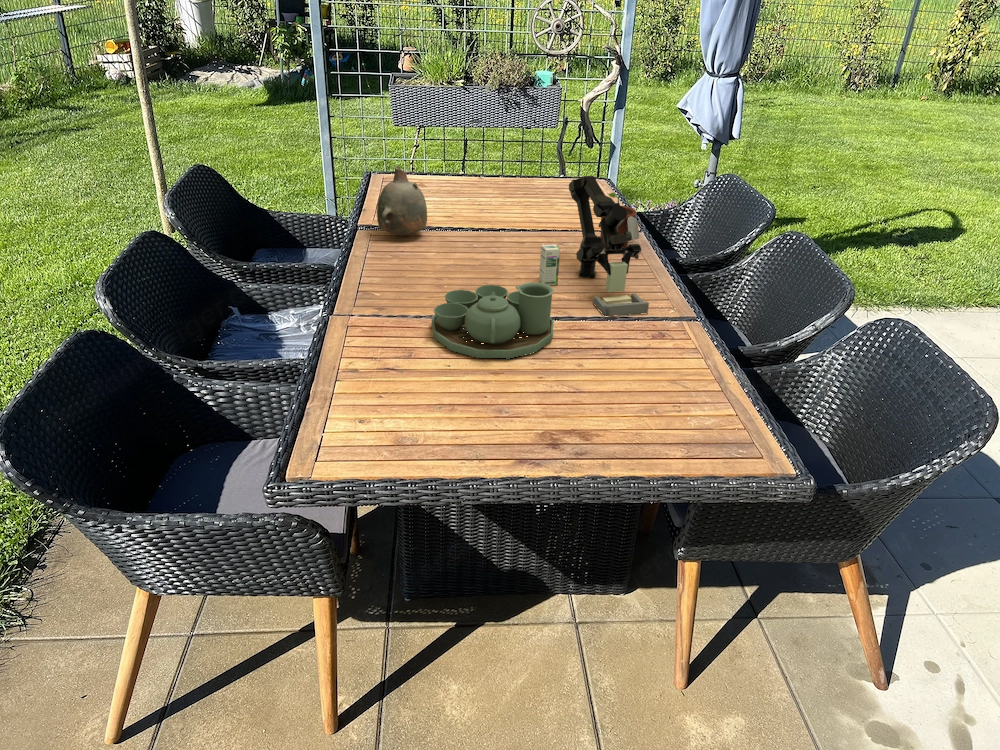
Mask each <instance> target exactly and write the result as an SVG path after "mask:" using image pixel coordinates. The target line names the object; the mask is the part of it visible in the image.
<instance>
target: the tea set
mask: <svg viewBox="0 0 1000 750" xmlns="http://www.w3.org/2000/svg"><path fill="white" fill-rule="evenodd" d="M515 289H517V290H516V291H513V292H510V293H509V290H508V289H507V288H506V287H504V286H502V285H494V284H487V285H486V284H485V285H481V286H478V287H477V288H476V289H475V292H474V291H471V290H466V289H454V290H451V291H448V292H447V293H446V294H445V295H444V299H445V301H446V302H444V303H441V304H437V306H436V307H435V308H433V311H434V312H433V313H434V315H433V316H432V317H431V328H432V335H433V338H434V340H435V339H436V341H437V342H438V341H439V342H440V344H441V343H442V344H443V345H442V344H441V345H442V346H443V347H445V346H446V347H447V348H446V347H445V348H446V349H447V350H449V349H450V350H451V351H450V350H449V351H450V352H452V351H454V352H453V353H456V352H458V353H457V354H459V353H462V354H461V355H463V354H465V355H464V356H467V355H469V356H468V357H470V356H473V357H472V358H474V357H477V358H476V359H478V358H506V359H505V360H511V359H510V358H513V359H515V358H514V357H517V358H519V357H518V356H521V357H523V356H522V355H525V354H529V355H531V354H530V353H533V352H536V353H537V351H538V350H539V349H540V350H542V349H543V348H544V347H546V346H547V345H548V344H549V342H550V341H552V340H553V337H554V336H553V335H554V334H553V333H554V322H555V321H554V319H552V318H551V314H552V313H551V311H552V299H553V294H554V292H555V290H554V288H553V287H552V285H547V284H542V283H541V282H525V283H522V284H520V285H515ZM463 328H464V329H463ZM467 332H468V333H467ZM523 332H524V333H523ZM517 333H519V334H517ZM526 336H528V337H526ZM463 337H464V338H463ZM519 337H522V338H519ZM513 338H515V339H513ZM471 340H473V341H471ZM466 341H467V342H466ZM439 342H438V343H439ZM481 343H484V344H481ZM547 343H548V344H547ZM550 343H551V342H550ZM546 344H547V345H546ZM545 345H546V346H545ZM543 346H544V347H543ZM542 347H543V348H542ZM541 348H542V349H541ZM540 350H539V351H540ZM539 351H538V352H539ZM533 354H534V353H533ZM525 356H526V355H525Z"/></svg>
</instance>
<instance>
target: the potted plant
mask: <svg viewBox="0 0 1000 750" xmlns="http://www.w3.org/2000/svg"><path fill="white" fill-rule="evenodd" d="M630 191H631V189H627V188H624V189H623V190H622V191H621V193H620V194H619V195H618V196H617V195H616V193H615V192H611V193H608V194H607V195H608V197H610V198H617V203H620V197H621V196H622V195H626V194H628V193H629V192H630ZM621 206H622V207H623V208H624V209H625V210H626V211H627V217H626V218H625V219H624V221H623V222H622V223H621V224H620V225H619V226H618V227H617V229H618V232H620V233H621V234H624V232H631V235H632V240H631V241H632V244H637V243H636V242H635V240H639V239H640V229H639V224H638V222H637V219H636V215H637V210H635V209H634V208H632V207H631V206H630V207H629V206H625V205H621ZM599 218H600V221H601V220H602V219H603V218H605V217H599ZM599 237H600V238H601V242H602V239H603V237H602V232H601V231H600V236H599ZM628 243H629V241H627V244H626V243H624V246H623V247H621V248H627V247H628ZM602 246H603V248H605V246H604V242H602ZM639 256H640V255H639V254H638V255H637V256H635V257H634V259H638V258H640V257H639Z"/></svg>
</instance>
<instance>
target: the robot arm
mask: <svg viewBox="0 0 1000 750" xmlns="http://www.w3.org/2000/svg"><path fill="white" fill-rule="evenodd" d="M568 191H569V193H570V195H571V199H572V200H573V201H574V202H575V204H576V206H577V211H578V217H579V222H580V228H581V234H582V239H581V242H580V246H579V247H580V248H579V249H578V250H577V252H576V253H575V255H576V260H578V262H580V268H579V270H578V274H577V275H578V276H579V278H586V277H589V278H588V279H595V278H596V273H597V272H596V264H597V263H598V264H599V265H600V266H601V267H602V268H603V269H604V270H605V272H606V273H608V274H609V275H611V269H610V265H609V263H610V262H609V261H610V260H609V256H610V255H611V256H612V255H622V257H621V262H625V263H626V264H628V267H627V274H629V269H630V268H629V267H630V262H631V261H630V260H631V258H635V256H637V255H638V256H639V254H640V253H641V252H642V245H640V244H639V243H636V244H634V243H631V244H628V243H627V241H628V242H630V241H632V235H631V232H624V234H621V233H620V232H618V229H617V227H618V226H619V225H620V224H621V223H622V222H623V221H624V219H625V218H626V217H627V211H626V210H625V209H624V208H623V207H622V206H623V205H620V204H621V203H620V202H619V203H618V202H615V201H614V199H612V197H611V196H607V195H605V192H604V191H603V189H602V188H601V186H600V185H599V183H598V181H597V178H596V176H594V175H583V176H581V177H579V178H576V179H572V180H571V182H569V184H568ZM590 200H591V201H592V203H593V206H592V209H591V203H590ZM592 211H593V213H594V215H595V216H596V218H600V217H605V218H603V219H602V220H601V219H600V221H599V223H598V228H600V233H601V232H602V237H603V239H602V242H604V246H605V249H603V246H602V242H601V238H600V236H597V235H596V232H595V225H594V221H593V216H592V215H593V214H592ZM624 243H626V244H627V248H621V247H623V246H624ZM596 262H597V263H596ZM627 274H626V275H627ZM578 276H577V277H578Z"/></svg>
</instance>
